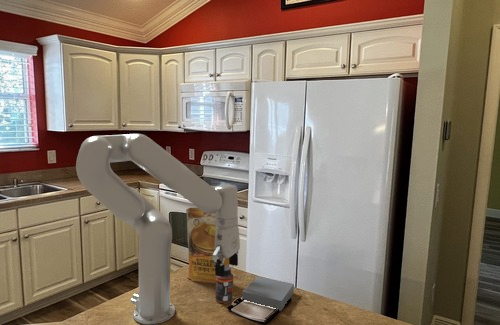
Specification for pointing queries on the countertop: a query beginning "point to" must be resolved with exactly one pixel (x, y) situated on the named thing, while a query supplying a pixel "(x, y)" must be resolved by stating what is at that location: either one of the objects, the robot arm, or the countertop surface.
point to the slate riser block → (269, 292)
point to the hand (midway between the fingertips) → (227, 270)
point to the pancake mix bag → (201, 245)
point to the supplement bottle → (224, 287)
